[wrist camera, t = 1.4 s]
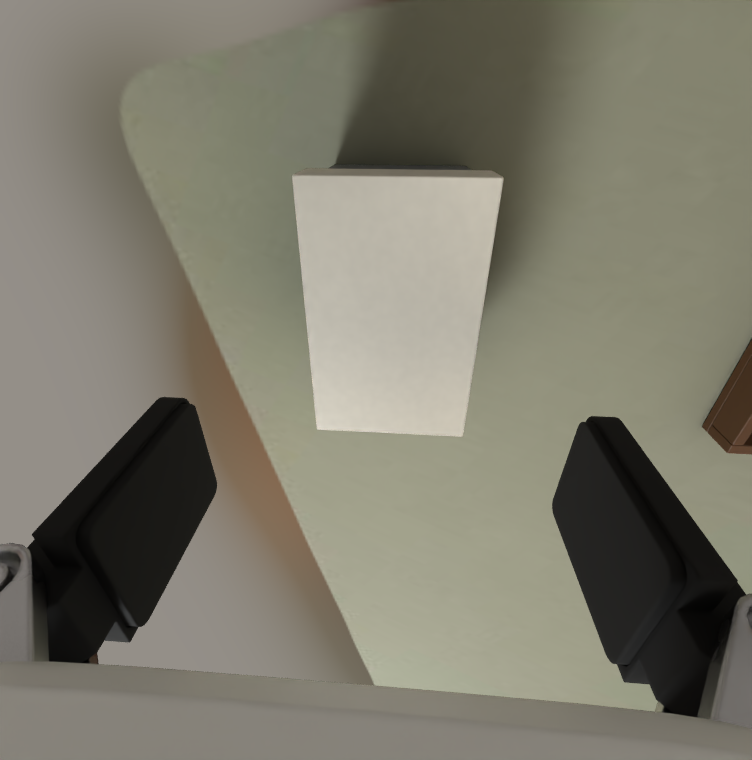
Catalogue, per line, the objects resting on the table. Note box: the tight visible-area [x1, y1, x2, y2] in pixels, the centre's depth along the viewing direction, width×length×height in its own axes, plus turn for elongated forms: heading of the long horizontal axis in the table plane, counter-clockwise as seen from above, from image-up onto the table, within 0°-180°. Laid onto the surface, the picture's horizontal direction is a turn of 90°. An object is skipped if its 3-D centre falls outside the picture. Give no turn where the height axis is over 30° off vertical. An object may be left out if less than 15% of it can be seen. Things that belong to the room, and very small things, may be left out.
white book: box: [292, 168, 504, 436], centre depth 16 cm, size 10×7×2 cm, turn 0°
